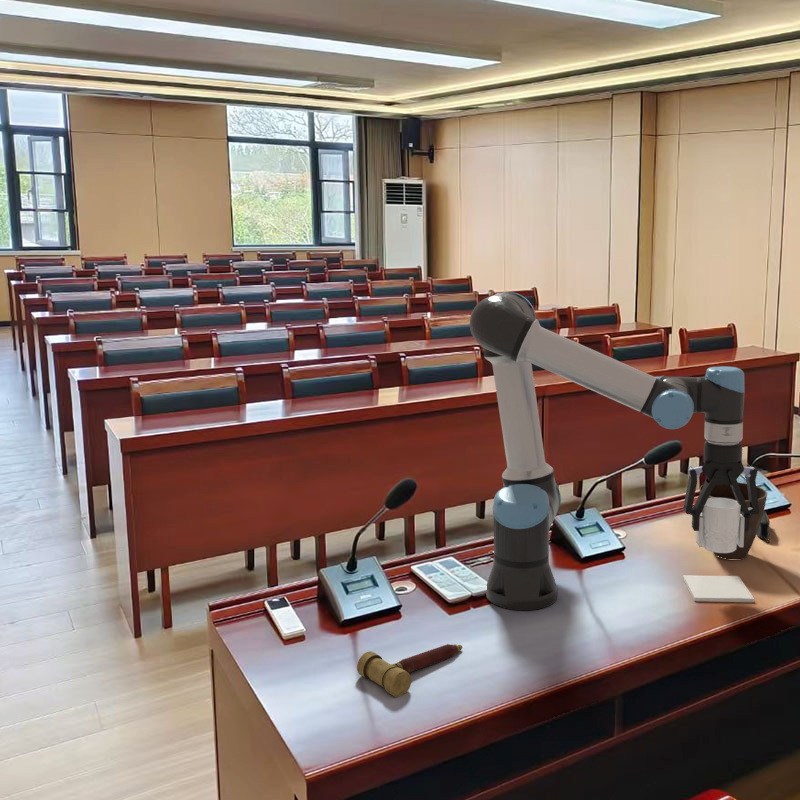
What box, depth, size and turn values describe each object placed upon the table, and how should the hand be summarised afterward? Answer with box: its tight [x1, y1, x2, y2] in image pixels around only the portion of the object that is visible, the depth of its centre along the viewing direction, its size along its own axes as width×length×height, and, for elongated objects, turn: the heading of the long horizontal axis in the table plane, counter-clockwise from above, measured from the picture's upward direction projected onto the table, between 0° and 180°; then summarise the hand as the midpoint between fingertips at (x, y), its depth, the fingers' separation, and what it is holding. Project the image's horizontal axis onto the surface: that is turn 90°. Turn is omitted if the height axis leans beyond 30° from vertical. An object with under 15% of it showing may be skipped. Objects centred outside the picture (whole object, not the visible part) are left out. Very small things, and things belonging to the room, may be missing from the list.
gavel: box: [356, 643, 463, 698], centre depth 155 cm, size 21×5×10 cm
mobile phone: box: [756, 509, 771, 543], centre depth 217 cm, size 5×3×15 cm
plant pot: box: [699, 481, 768, 560], centre depth 202 cm, size 15×15×16 cm
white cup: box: [701, 498, 741, 553], centre depth 181 cm, size 8×8×10 cm
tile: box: [682, 574, 755, 603], centre depth 184 cm, size 12×12×1 cm
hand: (719, 544), depth 182 cm, fingers closed on white cup, 8 cm apart
